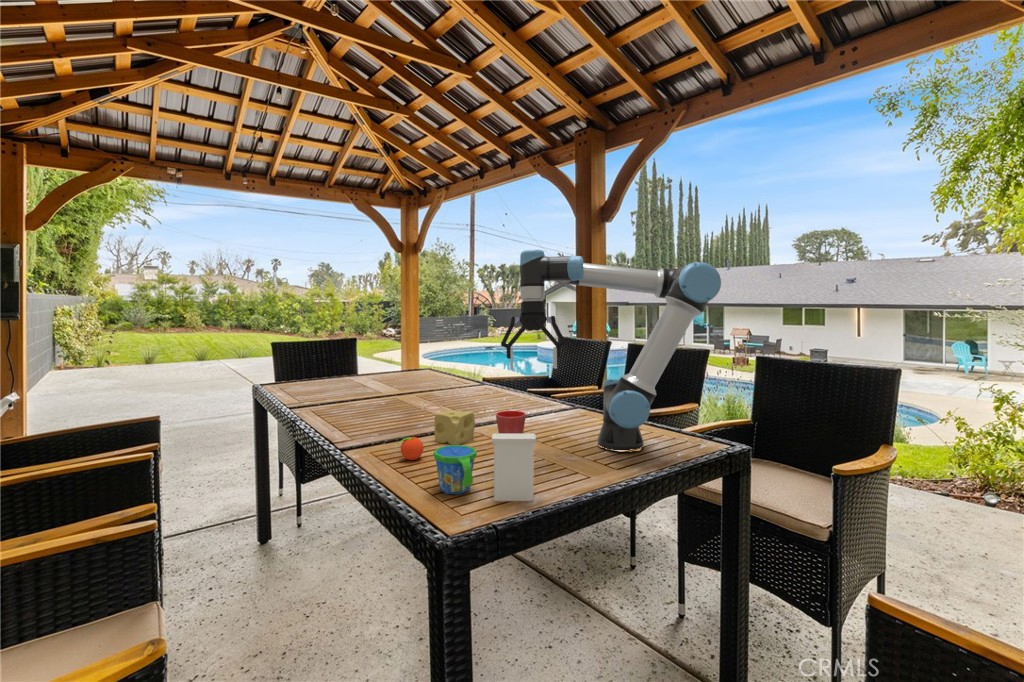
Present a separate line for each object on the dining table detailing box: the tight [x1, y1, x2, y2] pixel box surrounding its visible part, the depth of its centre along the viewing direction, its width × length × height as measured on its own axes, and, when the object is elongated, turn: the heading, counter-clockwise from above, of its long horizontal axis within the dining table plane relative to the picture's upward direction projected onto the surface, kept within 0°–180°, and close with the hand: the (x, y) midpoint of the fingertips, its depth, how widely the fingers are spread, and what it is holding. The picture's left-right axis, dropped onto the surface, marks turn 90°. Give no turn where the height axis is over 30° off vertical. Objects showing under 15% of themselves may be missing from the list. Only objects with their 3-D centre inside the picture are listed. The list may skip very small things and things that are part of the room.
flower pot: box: [495, 410, 527, 434], centre depth 165 cm, size 11×11×10 cm
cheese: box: [434, 409, 476, 446], centre depth 165 cm, size 10×11×10 cm
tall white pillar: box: [491, 433, 537, 502], centre depth 117 cm, size 10×12×15 cm
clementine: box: [398, 436, 425, 461], centre depth 143 cm, size 8×7×7 cm
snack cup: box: [433, 444, 478, 495], centre depth 118 cm, size 16×10×10 cm
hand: (533, 368), depth 146 cm, fingers open, 13 cm apart
